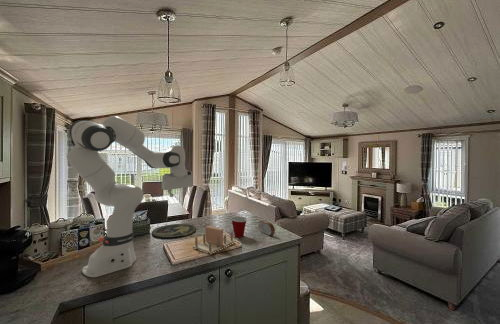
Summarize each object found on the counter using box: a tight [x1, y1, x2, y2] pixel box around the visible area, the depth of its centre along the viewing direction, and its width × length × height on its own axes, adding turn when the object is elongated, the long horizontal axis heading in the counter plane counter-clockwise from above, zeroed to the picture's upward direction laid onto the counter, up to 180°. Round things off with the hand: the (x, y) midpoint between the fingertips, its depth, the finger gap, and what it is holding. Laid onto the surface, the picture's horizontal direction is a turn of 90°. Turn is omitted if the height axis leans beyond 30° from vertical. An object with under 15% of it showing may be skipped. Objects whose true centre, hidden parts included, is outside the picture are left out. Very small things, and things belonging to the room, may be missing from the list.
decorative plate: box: [151, 223, 197, 240], centre depth 161 cm, size 30×2×30 cm
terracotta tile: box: [205, 225, 224, 246], centre depth 134 cm, size 2×12×9 cm, turn 54°
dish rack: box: [192, 231, 236, 255], centre depth 134 cm, size 20×15×6 cm
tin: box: [258, 219, 276, 237], centre depth 155 cm, size 15×3×8 cm, turn 34°
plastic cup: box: [230, 215, 248, 238], centre depth 150 cm, size 11×11×12 cm
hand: (178, 195), depth 137 cm, fingers open, 8 cm apart
